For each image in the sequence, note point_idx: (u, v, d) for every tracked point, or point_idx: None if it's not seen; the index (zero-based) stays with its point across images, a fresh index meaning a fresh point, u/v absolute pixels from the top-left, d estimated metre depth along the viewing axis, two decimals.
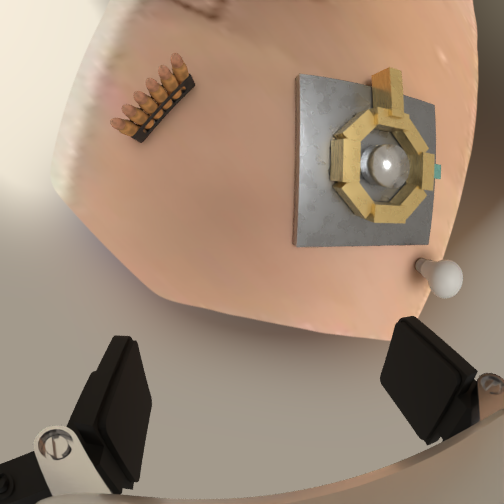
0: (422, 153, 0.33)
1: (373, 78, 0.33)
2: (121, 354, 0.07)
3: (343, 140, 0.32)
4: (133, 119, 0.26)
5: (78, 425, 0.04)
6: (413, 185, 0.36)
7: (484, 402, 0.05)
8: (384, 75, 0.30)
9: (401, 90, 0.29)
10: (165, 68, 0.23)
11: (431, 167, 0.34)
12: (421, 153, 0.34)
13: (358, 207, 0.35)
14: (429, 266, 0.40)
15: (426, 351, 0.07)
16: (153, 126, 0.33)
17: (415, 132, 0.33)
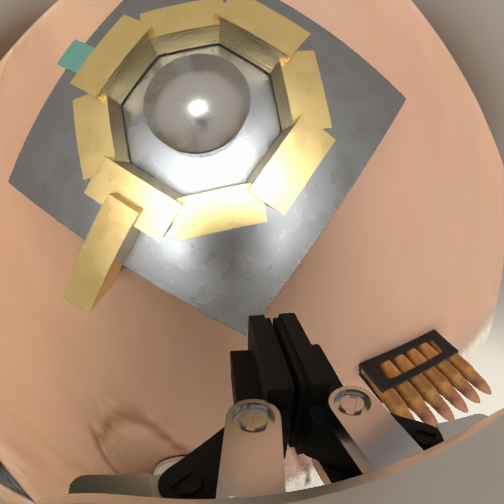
0: (99, 94, 0.13)
1: (113, 280, 0.19)
2: (267, 329, 0.09)
3: (285, 211, 0.16)
4: (462, 376, 0.20)
5: (272, 392, 0.06)
6: (154, 43, 0.14)
7: (356, 430, 0.05)
8: (101, 293, 0.16)
9: (82, 258, 0.14)
10: None
11: (95, 58, 0.12)
12: (100, 95, 0.13)
13: (317, 75, 0.15)
14: None
15: (285, 350, 0.08)
16: (421, 342, 0.27)
17: (85, 144, 0.14)
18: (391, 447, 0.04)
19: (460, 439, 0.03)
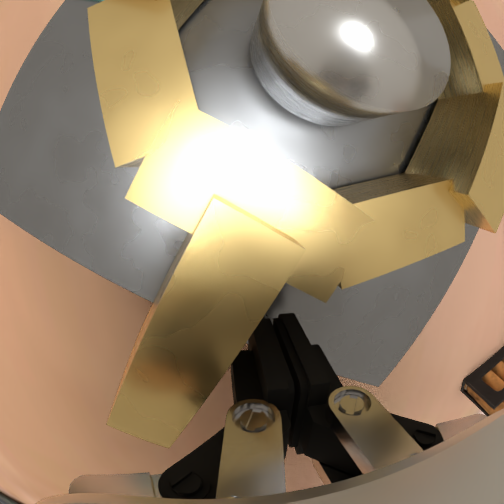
0: None
1: None
2: (268, 329, 0.09)
3: (495, 226, 0.07)
4: None
5: (272, 392, 0.06)
6: None
7: (356, 430, 0.05)
8: None
9: (145, 364, 0.06)
10: None
11: None
12: None
13: (487, 34, 0.06)
14: None
15: (285, 350, 0.08)
16: None
17: (118, 85, 0.06)
18: (391, 447, 0.04)
19: (460, 439, 0.03)
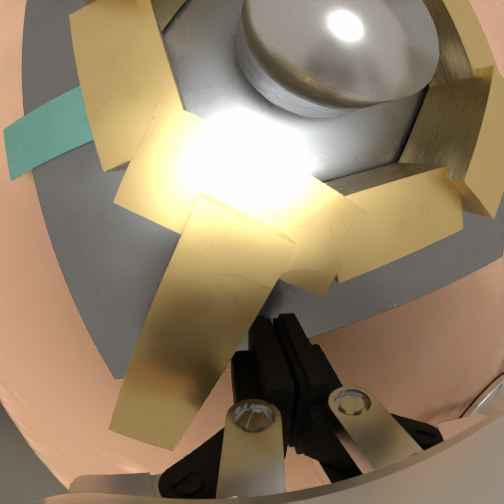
0: None
1: None
2: (268, 329, 0.09)
3: None
4: None
5: (272, 392, 0.06)
6: None
7: (356, 430, 0.05)
8: None
9: (142, 368, 0.06)
10: None
11: None
12: None
13: (475, 18, 0.06)
14: None
15: (285, 351, 0.08)
16: None
17: (103, 90, 0.06)
18: (391, 447, 0.04)
19: (460, 439, 0.03)
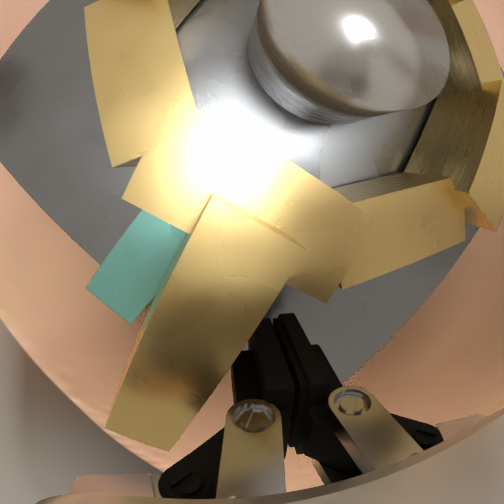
0: None
1: None
2: (268, 329, 0.09)
3: None
4: None
5: (272, 392, 0.06)
6: None
7: (356, 430, 0.05)
8: None
9: (143, 367, 0.06)
10: None
11: None
12: None
13: (485, 32, 0.06)
14: None
15: (285, 350, 0.08)
16: None
17: (115, 84, 0.06)
18: (391, 447, 0.04)
19: (460, 439, 0.03)
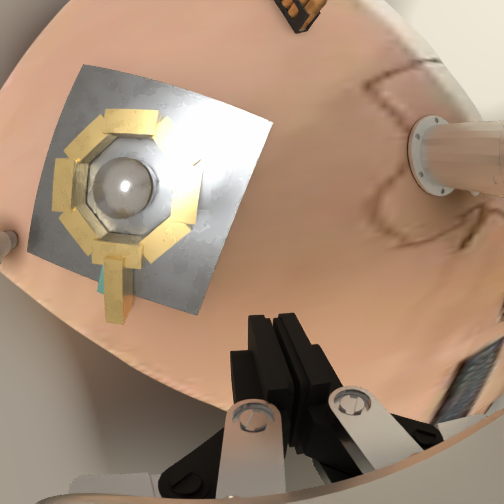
0: (71, 210, 0.24)
1: (132, 301, 0.31)
2: (268, 329, 0.09)
3: (195, 221, 0.27)
4: None
5: (272, 392, 0.06)
6: (82, 162, 0.25)
7: (356, 430, 0.05)
8: (126, 311, 0.28)
9: (107, 296, 0.26)
10: None
11: (57, 191, 0.23)
12: (72, 209, 0.25)
13: (177, 131, 0.25)
14: (1, 238, 0.24)
15: (285, 350, 0.08)
16: None
17: (79, 237, 0.26)
18: (391, 447, 0.04)
19: (460, 439, 0.03)
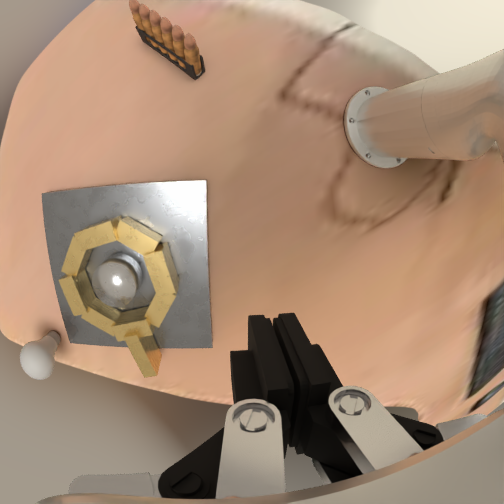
0: (87, 311, 0.33)
1: (159, 354, 0.40)
2: (268, 329, 0.09)
3: (175, 290, 0.34)
4: (142, 20, 0.22)
5: (272, 392, 0.06)
6: (79, 273, 0.33)
7: (356, 430, 0.05)
8: (156, 364, 0.37)
9: (137, 361, 0.34)
10: (175, 31, 0.21)
11: (71, 302, 0.32)
12: (87, 310, 0.33)
13: (132, 229, 0.32)
14: (47, 342, 0.35)
15: (285, 350, 0.08)
16: (154, 47, 0.29)
17: (101, 326, 0.35)
18: (391, 447, 0.04)
19: (460, 439, 0.03)
